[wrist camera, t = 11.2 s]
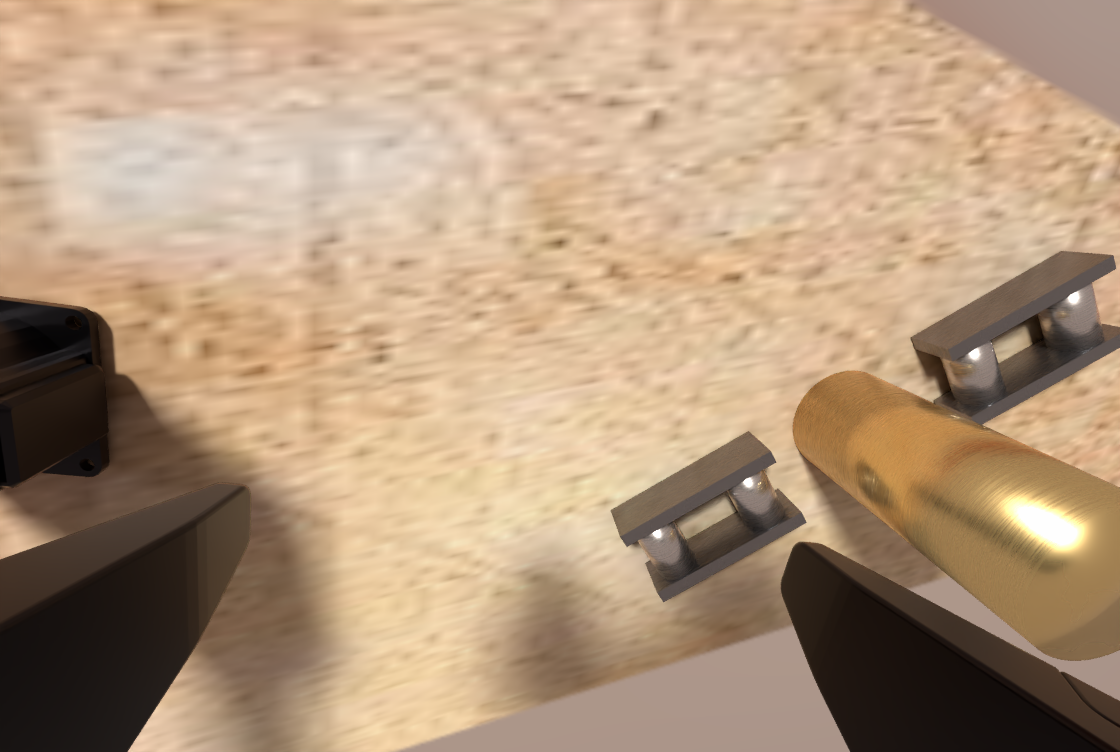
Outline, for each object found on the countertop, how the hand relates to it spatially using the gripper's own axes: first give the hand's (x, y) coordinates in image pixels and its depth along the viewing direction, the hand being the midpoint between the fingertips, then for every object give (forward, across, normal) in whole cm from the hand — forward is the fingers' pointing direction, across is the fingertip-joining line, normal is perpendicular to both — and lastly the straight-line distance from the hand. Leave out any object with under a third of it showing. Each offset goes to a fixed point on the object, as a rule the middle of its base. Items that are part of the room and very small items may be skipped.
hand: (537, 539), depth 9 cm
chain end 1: (+13, -9, +6) cm, 17 cm away
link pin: (+13, -15, +1) cm, 20 cm away
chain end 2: (+13, -20, -4) cm, 25 cm away
